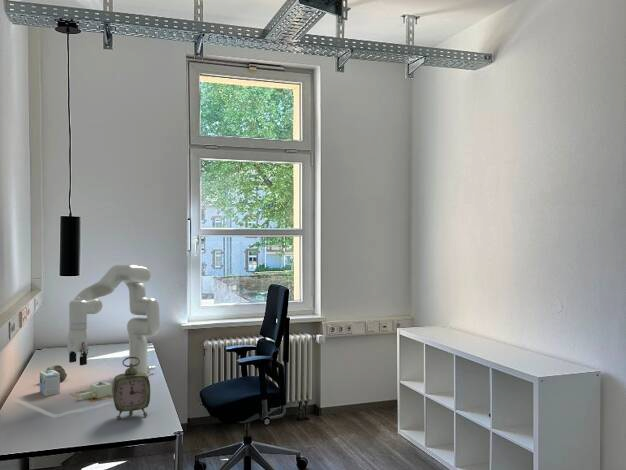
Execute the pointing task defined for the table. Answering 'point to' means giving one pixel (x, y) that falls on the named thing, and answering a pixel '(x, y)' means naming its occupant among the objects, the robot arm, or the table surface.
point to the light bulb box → (49, 382)
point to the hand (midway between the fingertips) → (77, 363)
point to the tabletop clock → (131, 390)
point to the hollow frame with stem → (97, 391)
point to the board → (92, 398)
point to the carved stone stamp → (59, 370)
